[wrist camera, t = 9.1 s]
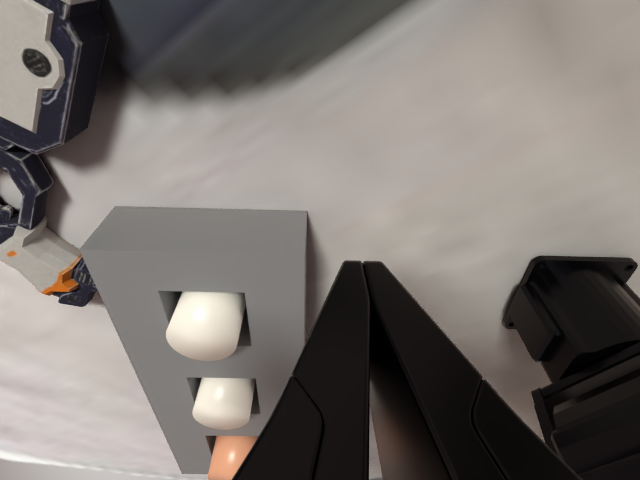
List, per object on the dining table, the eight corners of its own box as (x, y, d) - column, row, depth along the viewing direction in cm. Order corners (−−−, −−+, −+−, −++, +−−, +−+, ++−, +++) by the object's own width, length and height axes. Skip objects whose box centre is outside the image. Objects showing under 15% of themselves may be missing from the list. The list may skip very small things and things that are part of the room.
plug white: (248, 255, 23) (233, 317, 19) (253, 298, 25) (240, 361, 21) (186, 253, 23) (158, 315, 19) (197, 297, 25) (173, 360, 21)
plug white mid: (257, 337, 28) (247, 401, 24) (260, 367, 30) (251, 430, 26) (206, 336, 28) (187, 400, 24) (213, 366, 30) (197, 429, 26)
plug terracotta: (262, 404, 32) (254, 468, 28) (265, 426, 34) (258, 488, 30) (218, 404, 32) (204, 467, 28) (224, 426, 34) (211, 487, 30)
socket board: (307, 211, 22) (304, 255, 18) (304, 430, 37) (303, 475, 34) (115, 206, 21) (79, 249, 18) (194, 429, 37) (182, 473, 34)
